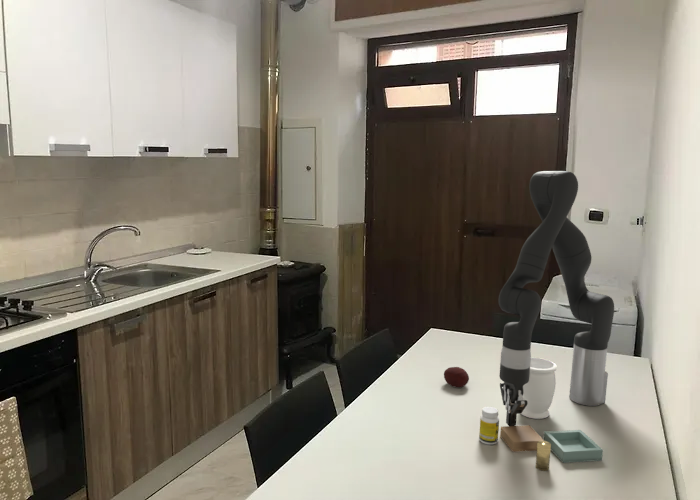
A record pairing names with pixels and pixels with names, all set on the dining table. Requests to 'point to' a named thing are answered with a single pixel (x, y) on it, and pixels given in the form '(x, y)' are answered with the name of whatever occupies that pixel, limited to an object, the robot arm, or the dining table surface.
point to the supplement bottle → (489, 426)
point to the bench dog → (543, 455)
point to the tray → (573, 446)
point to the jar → (539, 388)
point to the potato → (456, 377)
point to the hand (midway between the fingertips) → (510, 424)
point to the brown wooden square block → (520, 438)
